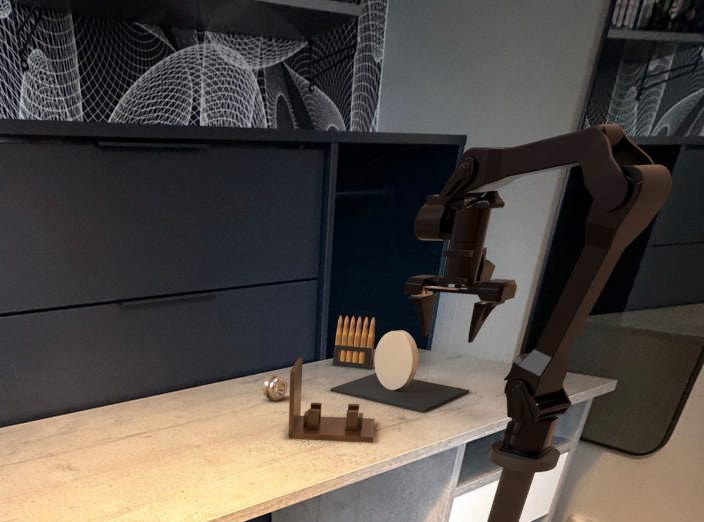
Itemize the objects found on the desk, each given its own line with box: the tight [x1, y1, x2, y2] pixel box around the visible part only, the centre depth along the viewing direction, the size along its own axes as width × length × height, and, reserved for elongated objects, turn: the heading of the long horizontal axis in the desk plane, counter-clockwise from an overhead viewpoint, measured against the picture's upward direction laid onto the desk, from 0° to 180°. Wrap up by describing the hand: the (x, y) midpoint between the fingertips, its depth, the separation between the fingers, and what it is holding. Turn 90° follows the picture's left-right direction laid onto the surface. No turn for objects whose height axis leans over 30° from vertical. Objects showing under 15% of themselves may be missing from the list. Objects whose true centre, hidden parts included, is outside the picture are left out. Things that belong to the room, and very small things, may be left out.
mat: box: [330, 372, 470, 414], centre depth 114 cm, size 24×18×1 cm
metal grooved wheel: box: [262, 374, 288, 402], centre depth 113 cm, size 5×3×5 cm, turn 129°
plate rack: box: [287, 357, 376, 443], centre depth 93 cm, size 15×10×12 cm, turn 75°
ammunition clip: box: [332, 315, 376, 370], centre depth 131 cm, size 11×2×12 cm, turn 54°
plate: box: [373, 329, 419, 390], centre depth 111 cm, size 12×2×12 cm, turn 26°
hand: (447, 339), depth 97 cm, fingers open, 9 cm apart
